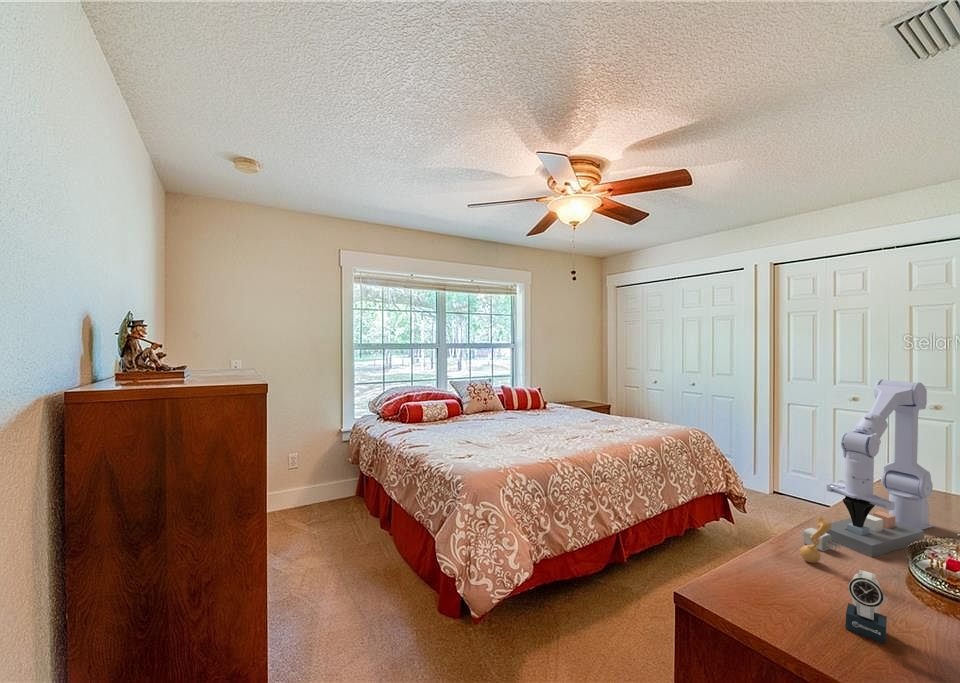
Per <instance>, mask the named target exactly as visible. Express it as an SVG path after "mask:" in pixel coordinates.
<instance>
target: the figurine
mask: <svg viewBox="0 0 960 683" xmlns="http://www.w3.org/2000/svg"><path fill="white" fill-rule="evenodd" d="M816 520H817V522H818V523H817V530H818V531H817V532H816V533H814V534H813V535H812V536H810V538H809V539H811V540H812V542H813V543H814V545H812V544H811V545H806V544H804V545H803V546H802V547H801V548H800V549H799V553H800V556H801V557H802V559H804V561H805V562H808V563H812V564H814V563H815V564H817V562H819V561H820V560H821V553H820V550H818V549H816V548H815V547H816V546H817V545H818V544H819V540H818V539H817V538H819V537H820V536H822V535H824V534H825V533H826V532H827V531H828V530H829V529H830V528H831V524H830V523H831V522H829V521H827V520H825V519H824V518H822V517H821V516H817V518H816ZM814 539H815V540H814Z"/></svg>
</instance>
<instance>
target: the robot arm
mask: <svg viewBox="0 0 960 683" xmlns="http://www.w3.org/2000/svg"><path fill="white" fill-rule="evenodd" d="M873 395H874V398H875V400H874V403H873V405H872V407H871V409H870V411H869V412H868V413H864V414H862V415H861V416H860V418H859V419H858V421H857V423H856V424H855V426H854V427H853V428H852V430H851V431H847V432H845V433H844V434H843V435H842V437H841V442H840V446H841V449H842V451H843V452H842V453H843V454H842V455H843V458H845V478H844V479H845V480H844V486H841V485H838V484H834V483H827V484H826V492H830V493H835V494H838V495H841V496H844V498H842V503H843V504H844V505H845V507H846V509H847V510H848V513H849V516H850V518H851V519H852V523H853V526H856V527H863V525H864V522H865V520H866V517H867V515H868V514H870V513H871V511H872V510H873V509H874V508H875V506H877V507H880V508H883V509H885V510H887V511H888V514H891V515H894V516H896V519H895V521H896V522H899V523H902V524H905V525H908V526H911V527H914V528H917V529H920V530H923V531H924V530H926V529H930V528H933V524H931V523H929V521H930V519H929V518H930V517H929V516H930V505H929V502H928V500H927V499H928V498H930V497H931V496H932V493H933V481H932V475H931V472H930V471H929V470H927V469H925V468H924V467H923V466H921V465H920V464H919V463H918V450H919V449H918V447H919V446H918V443H919V439H918V438H919V434H918V433H919V432H918V431H919V411H920V410H926V408H927V407H926V406H927V402H928V400H927V399H928V396H927V395H928V391H927V388H926V386H925V384H923V383H922V382H919V381H916V382H914V381H913V382H912V381H898V380H888V379H886V380H885V379H878V380H877V381H876V382H875V384H874V386H873ZM893 412H894V454H893V455H894V457H893V458H894V460H893V461H890V462H888V463H886V464H885V465H884V466H883V469H882V474H881V478H880V481H881V482H880V483H881V485H882V486H883V488H884V489H886V492H887V493H888V499H886V498H883V497H881V496H879V495H876V494H874V472H875V470H874V469H875V457H876V456H877V455H878V453H879V451H880V447H881V442H882V441H881V437H882V436H883V435H884V433H885V431H886V430H887V429H888V426H889V424H888V422H887V419H888V418H889V417H890V415H892V413H893Z"/></svg>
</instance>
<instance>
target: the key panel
mask: <svg viewBox="0 0 960 683" xmlns="http://www.w3.org/2000/svg"><path fill="white" fill-rule="evenodd" d="M869 515H872V516H873V513H869ZM829 523H830V524H831V528H830V529H829V530H828V531H827V532H826V533H827V534H830V535H831V542H833V543H836V544H838V545H840V546H842V547H845V548H847V549H850V550H853V551H855V552H858V553H860V554H862V555H864V556H867V557H870V558H874V557H877V556H881V555H884V554H888V553H891V552H894V551H897V550H900V549H901V550H902V549H904V548H907V546H908V545H910V544H911V543H913V542H915V541H918V540H922V539H924V540H925V530H924V529H923V530H920V529H917V528H914V527H911V526H908V525H905V524H902V523H899V522H896V521H895V528H892V529H887V528H884V527H883V531H881V532H877V533H875V532H873V531H870V530H869V535H866V536H861V535H858V534H855V533H853V532H850V531H847V524H850V523H852V519H851V517H850V518H846V519H842V520H838V521H832V522H829ZM908 547H909V546H908Z"/></svg>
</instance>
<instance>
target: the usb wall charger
mask: <svg viewBox="0 0 960 683" xmlns="http://www.w3.org/2000/svg"><path fill="white" fill-rule="evenodd" d="M817 531H818V529H816V528H815V527H808V528H806V529H804V530H803V544H804V545H811V544H812V545H814V543H813V542H812V540H811V539H809V538H810V536H812V535H813V534H814V533H816V532H817ZM817 539H818V540H819V544H818V545H817V546H816V547H815V548H816V549H817V550H818V551H821V552H825V551H829V550H830V549H833V550H836V549H837V548H839V549H841V545H840V544H838V543H835V542H833V541H831V535H830V534H827V533H825V534H824V535H822V536H820V537H819V538H817ZM814 540H815V539H814Z"/></svg>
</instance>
